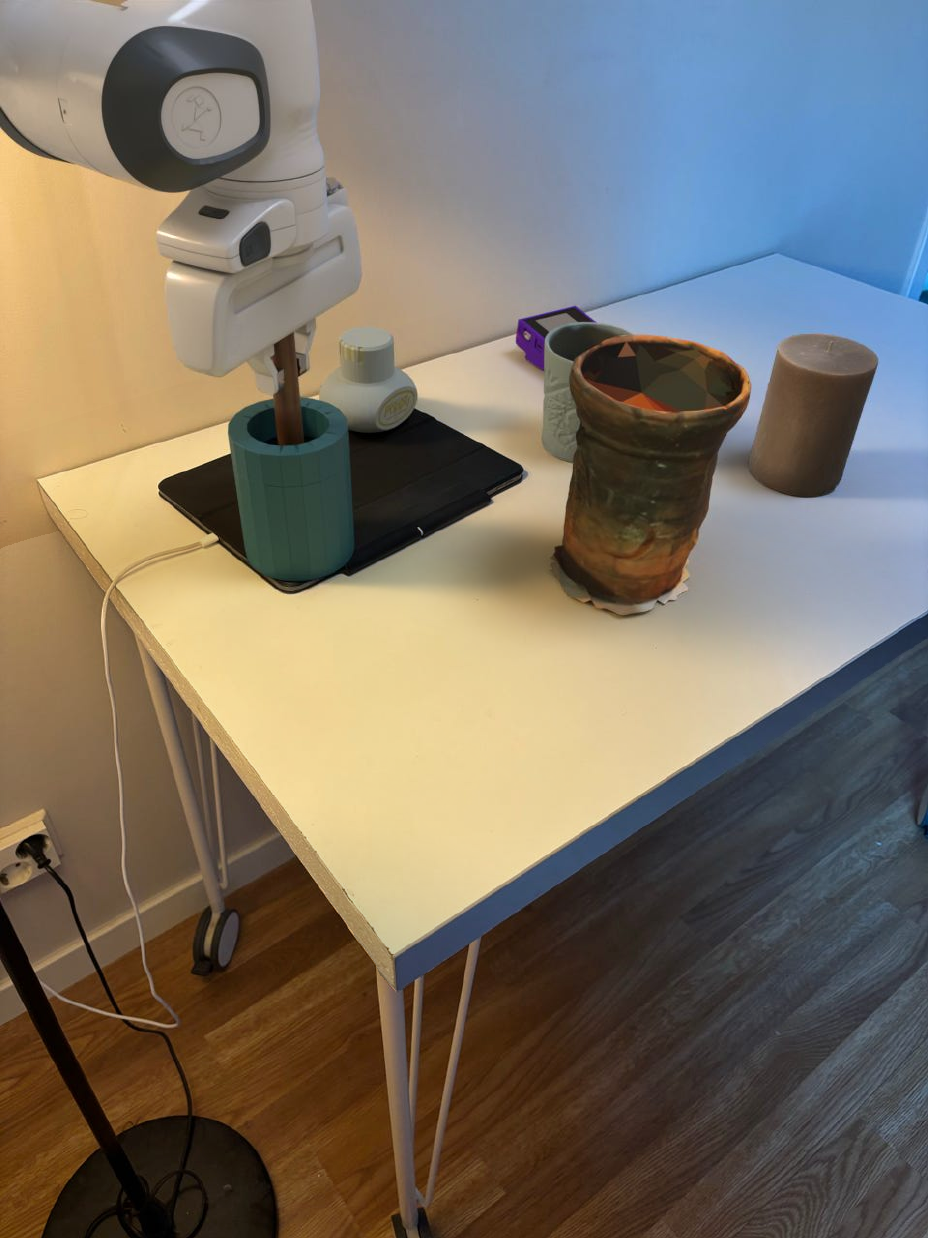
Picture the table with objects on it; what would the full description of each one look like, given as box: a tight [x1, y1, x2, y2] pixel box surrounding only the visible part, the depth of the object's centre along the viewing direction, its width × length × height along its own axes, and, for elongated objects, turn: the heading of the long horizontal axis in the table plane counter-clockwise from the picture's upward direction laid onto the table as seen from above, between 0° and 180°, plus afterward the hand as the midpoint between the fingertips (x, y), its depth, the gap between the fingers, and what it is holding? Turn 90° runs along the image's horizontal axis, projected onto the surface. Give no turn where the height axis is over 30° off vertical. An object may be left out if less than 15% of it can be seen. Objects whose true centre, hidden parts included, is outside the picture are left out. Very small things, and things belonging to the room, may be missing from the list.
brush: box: [270, 332, 304, 446], centre depth 81 cm, size 4×4×18 cm
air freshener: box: [318, 325, 419, 434], centre depth 105 cm, size 11×8×10 cm
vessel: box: [548, 334, 752, 616], centre depth 82 cm, size 14×14×20 cm
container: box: [227, 396, 355, 582], centre depth 85 cm, size 10×10×13 cm
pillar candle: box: [747, 332, 879, 498], centre depth 97 cm, size 10×10×15 cm
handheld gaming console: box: [515, 305, 598, 372], centre depth 118 cm, size 9×5×15 cm
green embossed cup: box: [541, 321, 635, 464], centre depth 101 cm, size 10×10×12 cm
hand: (284, 381), depth 78 cm, fingers closed on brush, 2 cm apart
